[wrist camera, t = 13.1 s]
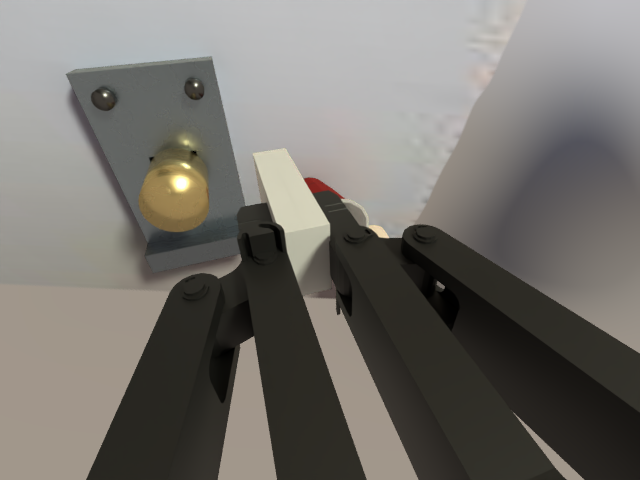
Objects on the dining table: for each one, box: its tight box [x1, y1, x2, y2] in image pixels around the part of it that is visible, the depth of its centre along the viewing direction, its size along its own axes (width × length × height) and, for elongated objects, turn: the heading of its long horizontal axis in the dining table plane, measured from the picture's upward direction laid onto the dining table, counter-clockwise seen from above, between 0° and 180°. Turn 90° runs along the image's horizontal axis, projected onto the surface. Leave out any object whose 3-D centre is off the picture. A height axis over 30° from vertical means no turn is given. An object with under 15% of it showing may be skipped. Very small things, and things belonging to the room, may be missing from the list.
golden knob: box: [138, 148, 209, 232], centre depth 37 cm, size 7×7×10 cm
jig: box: [66, 57, 245, 273], centre depth 39 cm, size 24×14×6 cm, turn 4°
